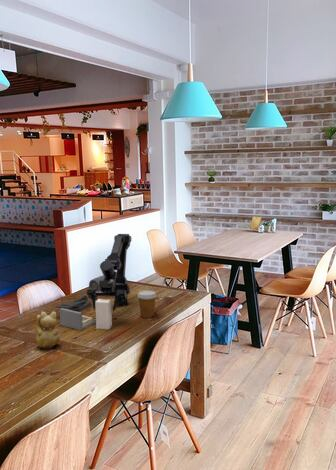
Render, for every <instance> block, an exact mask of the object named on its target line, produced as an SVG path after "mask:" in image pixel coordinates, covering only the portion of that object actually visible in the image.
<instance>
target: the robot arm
mask: <svg viewBox="0 0 336 470" xmlns="http://www.w3.org/2000/svg"><path fill="white" fill-rule="evenodd" d="M113 238H114V242H113V245H112V247H111V248H112V249H111V252H110V254H109V255H108V256H107V257H106V258H105V259H104V260H103V261H102V262H101V263H100V264H99V268H100V270H101V273H102V274H103V275H104V280H103V281H99V287H100V290H102V291H101V292H97V291H96V289H89V288H88V289H87V290H86V294H85V295H86V296H87V298H89V300H90V301H91V303H92V308H93V311H96V307H95V302H96V301H97V300H98V297H113V305H112V312H115V310H116V309H117V307H122V306H123V307H124V306H128V305H129V303H128V302H129V301H128V300H129V299H128V295H130V294H131V290H130V285H129V283H128V279H127V278H126V268H127V267H126V265H127V264H126V263H127V252H128V250H129V248H130V247H131V242H132V235H130V234H129V233H118V234H116V235H114V237H113ZM116 272H117V273H116ZM103 275H102V276H103Z"/></svg>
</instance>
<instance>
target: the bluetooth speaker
mask: <svg viewBox="0 0 336 470" xmlns="http://www.w3.org/2000/svg"><path fill="white" fill-rule="evenodd" d="M115 272H116V273H117V271H115ZM103 280H104V275H100V276H97V277H95V278H93V279H90V280H89V283H88V289H96V291H97V292H101V291H102V290H100V287H99V281H103Z"/></svg>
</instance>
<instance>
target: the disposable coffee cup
mask: <svg viewBox="0 0 336 470" xmlns="http://www.w3.org/2000/svg"><path fill="white" fill-rule="evenodd" d="M136 296H137V298H138V302H139V310H140V316H141V317H142V318H151V317H154V316H153V315H155V306H156V305H155V303H156V298H157V293H156V291H154V290H151V289H143V290H139V291H138V293H137V295H136Z"/></svg>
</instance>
